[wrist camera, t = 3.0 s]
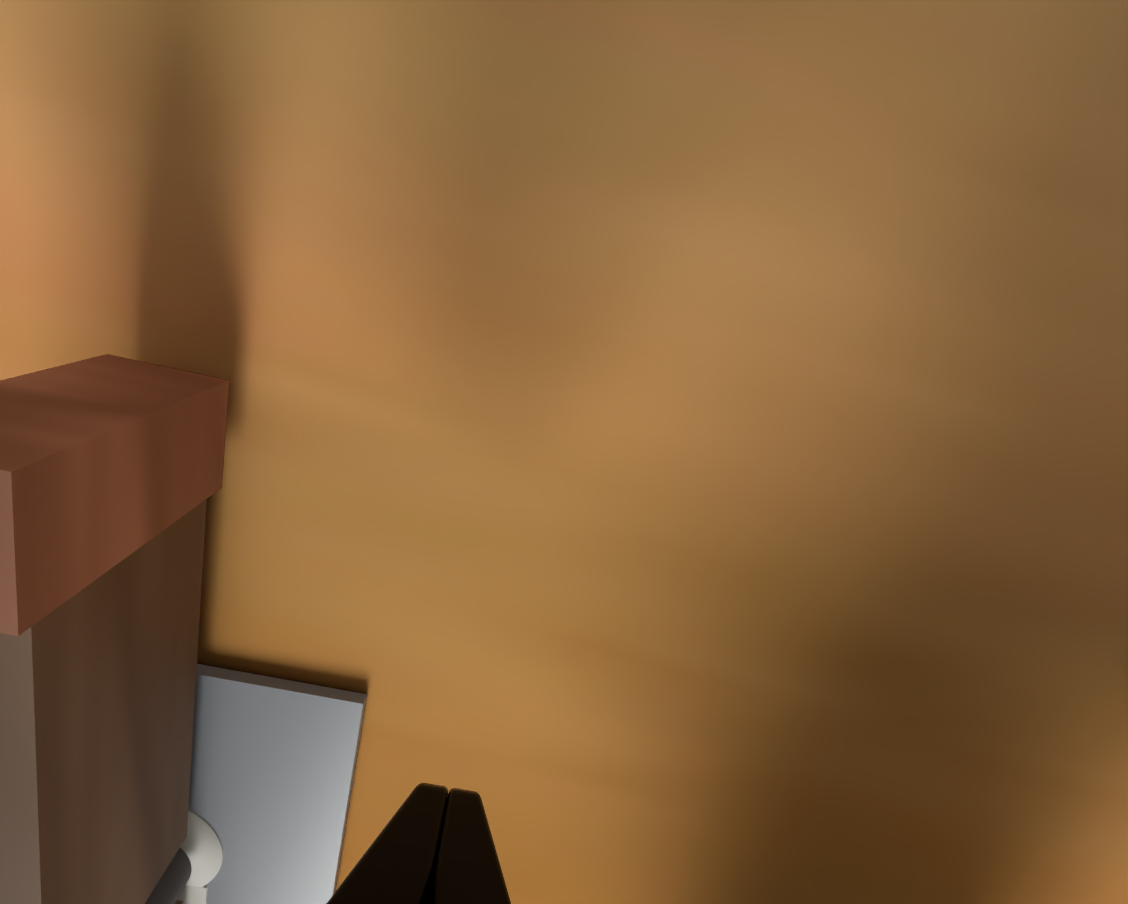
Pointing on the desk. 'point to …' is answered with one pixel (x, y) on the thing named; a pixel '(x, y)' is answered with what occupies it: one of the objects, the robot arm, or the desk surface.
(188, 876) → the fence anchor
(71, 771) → the fence gate
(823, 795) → the desk surface
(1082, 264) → the desk surface
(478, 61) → the desk surface
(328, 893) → the card
